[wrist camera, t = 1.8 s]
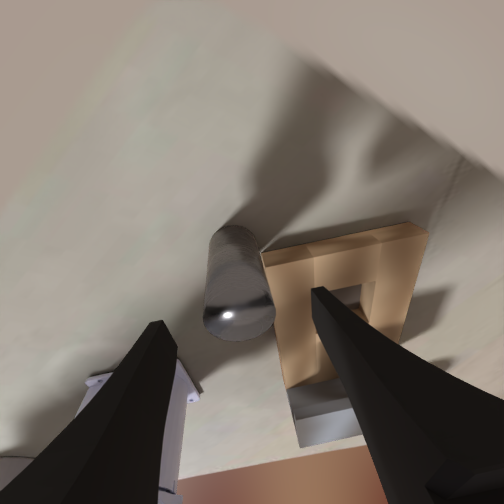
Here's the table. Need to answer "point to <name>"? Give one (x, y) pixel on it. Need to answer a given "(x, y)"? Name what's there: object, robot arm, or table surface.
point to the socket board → (349, 293)
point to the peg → (236, 287)
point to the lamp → (11, 468)
